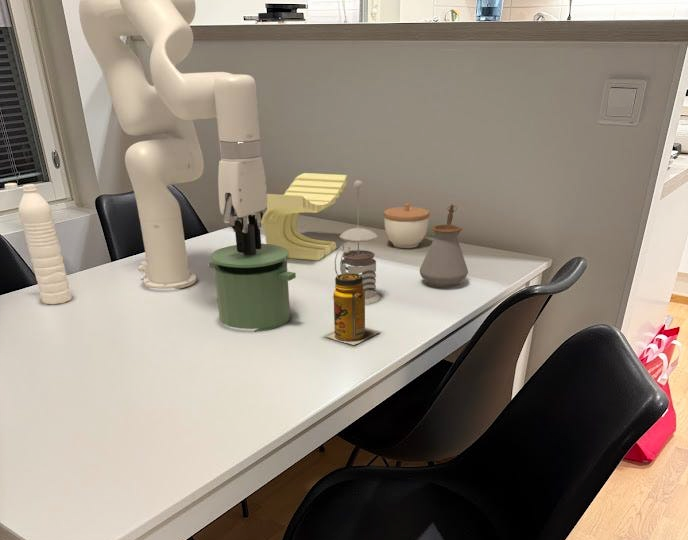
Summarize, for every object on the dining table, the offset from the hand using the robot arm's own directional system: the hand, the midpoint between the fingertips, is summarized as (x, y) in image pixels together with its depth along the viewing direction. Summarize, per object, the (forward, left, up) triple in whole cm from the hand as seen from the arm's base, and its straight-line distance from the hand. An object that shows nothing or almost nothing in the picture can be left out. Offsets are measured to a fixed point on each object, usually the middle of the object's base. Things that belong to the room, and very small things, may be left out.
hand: (249, 249), depth 136 cm
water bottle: (-49, -11, -15) cm, 52 cm away
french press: (+13, +21, -15) cm, 29 cm away
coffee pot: (+25, +45, -15) cm, 54 cm away
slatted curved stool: (-19, +49, -15) cm, 55 cm away
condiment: (+23, +1, -15) cm, 27 cm away
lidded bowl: (+4, +68, -15) cm, 70 cm away
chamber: (0, 0, -14) cm, 14 cm away
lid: (0, 0, -1) cm, 1 cm away
